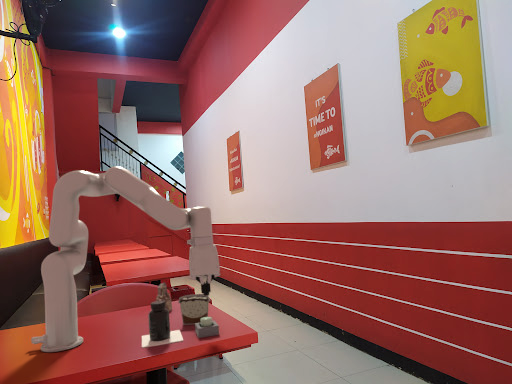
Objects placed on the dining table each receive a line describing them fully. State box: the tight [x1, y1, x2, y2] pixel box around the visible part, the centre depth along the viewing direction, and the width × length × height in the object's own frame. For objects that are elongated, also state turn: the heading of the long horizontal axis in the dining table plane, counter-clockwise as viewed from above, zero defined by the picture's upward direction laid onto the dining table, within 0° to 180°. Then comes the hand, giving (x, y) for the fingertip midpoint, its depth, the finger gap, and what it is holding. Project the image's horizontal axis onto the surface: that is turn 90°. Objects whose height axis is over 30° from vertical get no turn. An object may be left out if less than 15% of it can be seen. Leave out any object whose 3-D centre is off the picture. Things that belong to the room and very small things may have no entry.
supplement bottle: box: [147, 300, 171, 341], centre depth 122 cm, size 7×7×12 cm
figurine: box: [155, 281, 173, 312], centre depth 161 cm, size 7×7×12 cm
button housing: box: [194, 319, 220, 339], centre depth 124 cm, size 7×7×3 cm
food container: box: [177, 293, 211, 326], centre depth 140 cm, size 12×6×10 cm, turn 84°
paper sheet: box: [141, 329, 184, 349], centre depth 122 cm, size 13×12×1 cm
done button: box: [200, 316, 213, 327], centre depth 125 cm, size 4×4×3 cm
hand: (206, 294), depth 125 cm, fingers closed
